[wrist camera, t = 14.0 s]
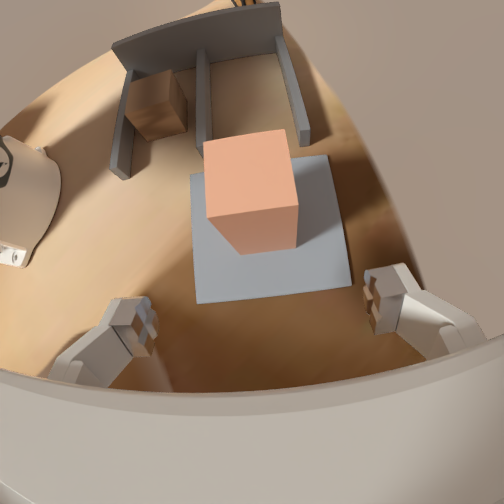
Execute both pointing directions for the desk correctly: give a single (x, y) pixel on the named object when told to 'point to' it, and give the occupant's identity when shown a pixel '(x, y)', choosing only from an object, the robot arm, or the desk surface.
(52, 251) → the desk surface
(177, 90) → the walnut block
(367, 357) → the desk surface
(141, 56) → the lane rack
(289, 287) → the slate mat
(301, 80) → the desk surface
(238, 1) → the ammunition clip
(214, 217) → the terracotta block
